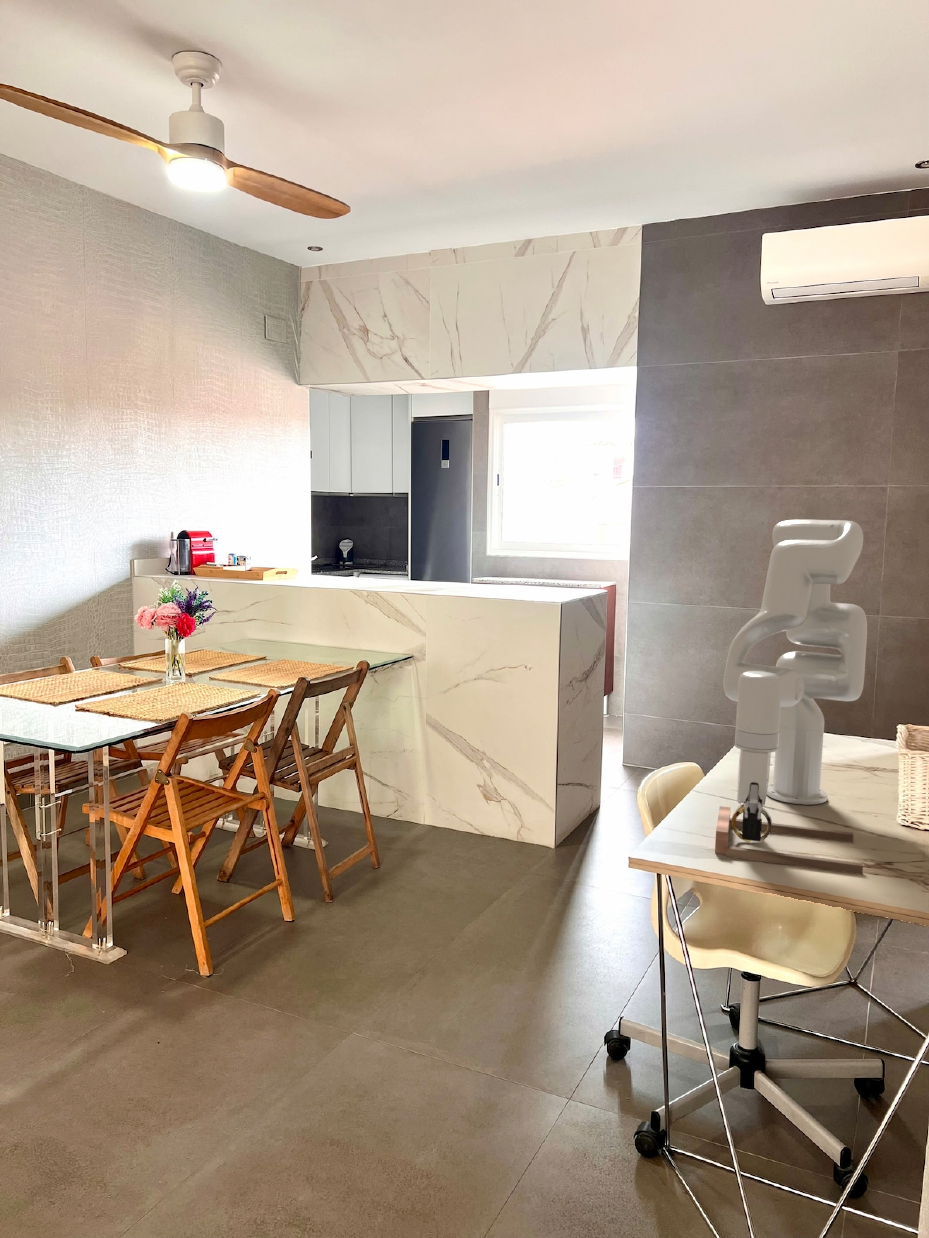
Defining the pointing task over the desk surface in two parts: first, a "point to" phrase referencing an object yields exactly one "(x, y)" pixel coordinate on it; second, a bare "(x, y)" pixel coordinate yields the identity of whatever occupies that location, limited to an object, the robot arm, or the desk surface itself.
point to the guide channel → (782, 858)
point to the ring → (741, 810)
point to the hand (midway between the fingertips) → (751, 830)
